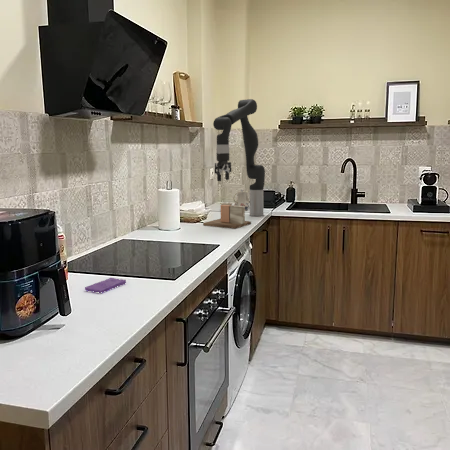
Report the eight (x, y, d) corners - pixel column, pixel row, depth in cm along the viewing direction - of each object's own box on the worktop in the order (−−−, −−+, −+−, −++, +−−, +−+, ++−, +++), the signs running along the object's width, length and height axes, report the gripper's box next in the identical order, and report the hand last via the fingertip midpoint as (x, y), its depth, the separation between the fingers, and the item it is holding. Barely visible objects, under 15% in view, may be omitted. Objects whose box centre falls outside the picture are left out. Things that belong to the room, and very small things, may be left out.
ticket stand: (220, 220, 287) (220, 202, 285) (251, 223, 275) (251, 204, 273) (203, 225, 272) (203, 206, 270) (234, 228, 260) (234, 208, 258)
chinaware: (243, 208, 350) (242, 187, 348) (260, 208, 338) (258, 185, 336) (217, 213, 331) (215, 189, 329) (234, 212, 319) (232, 188, 317)
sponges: (126, 285, 161) (126, 279, 161) (100, 295, 150) (100, 290, 150) (111, 282, 164) (110, 277, 164) (84, 292, 153) (84, 286, 153)
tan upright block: (224, 220, 277) (223, 204, 275) (232, 221, 273) (232, 205, 272) (220, 221, 274) (220, 205, 272) (229, 222, 271) (229, 206, 269)
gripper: (224, 152, 276) (224, 179, 279) (210, 152, 265) (211, 181, 268) (234, 152, 272) (235, 179, 275) (221, 152, 261) (221, 181, 264)
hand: (223, 180), depth 271 cm, fingers open, 8 cm apart
